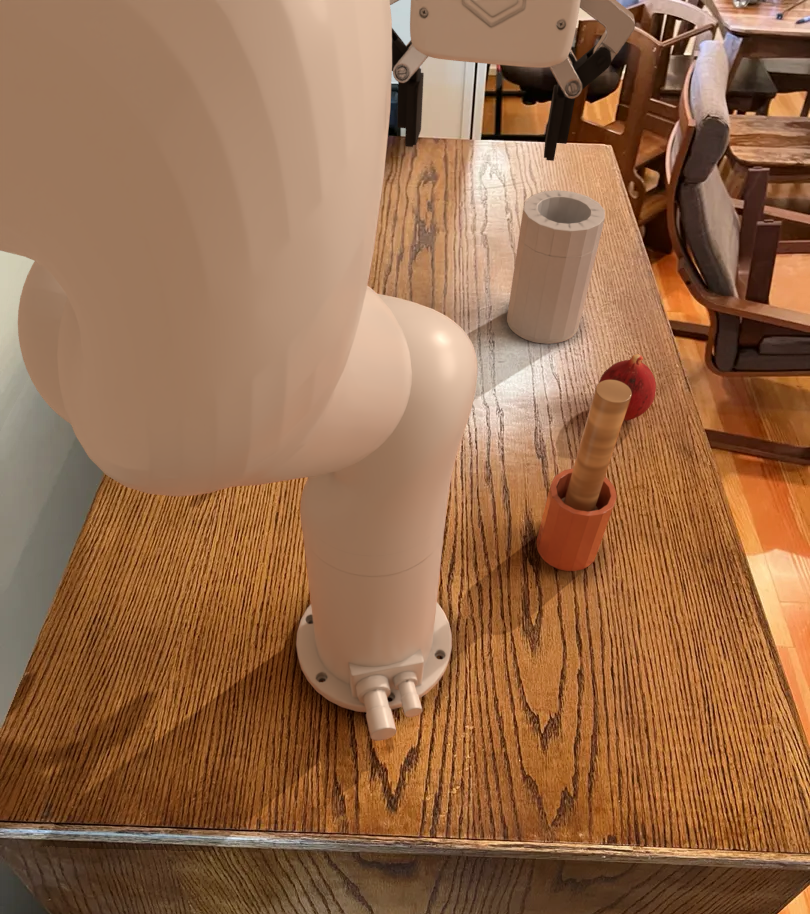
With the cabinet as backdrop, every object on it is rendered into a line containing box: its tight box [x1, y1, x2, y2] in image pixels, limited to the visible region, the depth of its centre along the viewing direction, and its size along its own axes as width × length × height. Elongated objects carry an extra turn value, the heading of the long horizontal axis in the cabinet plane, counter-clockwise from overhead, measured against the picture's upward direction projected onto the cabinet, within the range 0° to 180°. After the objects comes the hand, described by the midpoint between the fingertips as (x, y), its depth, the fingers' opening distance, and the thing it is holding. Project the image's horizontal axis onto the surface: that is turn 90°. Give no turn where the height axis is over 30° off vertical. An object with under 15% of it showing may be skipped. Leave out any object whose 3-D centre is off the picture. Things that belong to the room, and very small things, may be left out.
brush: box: [561, 380, 632, 512], centre depth 62 cm, size 4×4×18 cm
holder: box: [535, 468, 618, 572], centre depth 67 cm, size 5×6×8 cm
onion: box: [598, 353, 657, 421], centre depth 79 cm, size 6×6×8 cm
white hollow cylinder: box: [506, 189, 606, 345], centre depth 87 cm, size 9×9×14 cm
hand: (480, 145), depth 54 cm, fingers open, 9 cm apart
